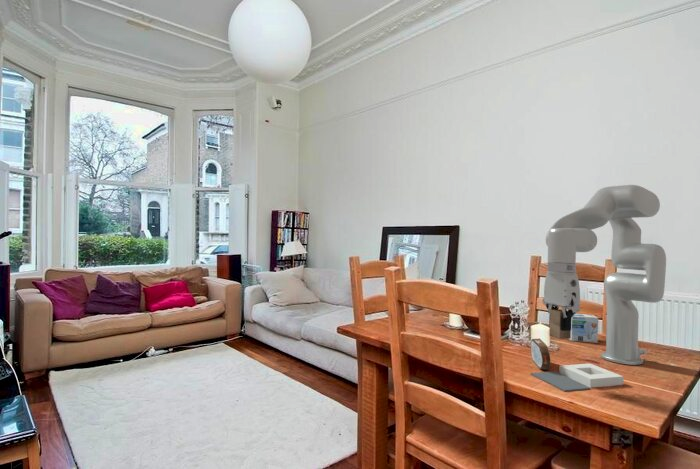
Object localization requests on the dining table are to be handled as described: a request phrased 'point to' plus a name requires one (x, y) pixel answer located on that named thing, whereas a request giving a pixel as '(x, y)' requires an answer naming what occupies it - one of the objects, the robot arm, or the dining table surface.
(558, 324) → the block
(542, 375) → the mat
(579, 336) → the light bulb box
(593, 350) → the dining table surface
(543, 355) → the tin
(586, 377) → the holder
